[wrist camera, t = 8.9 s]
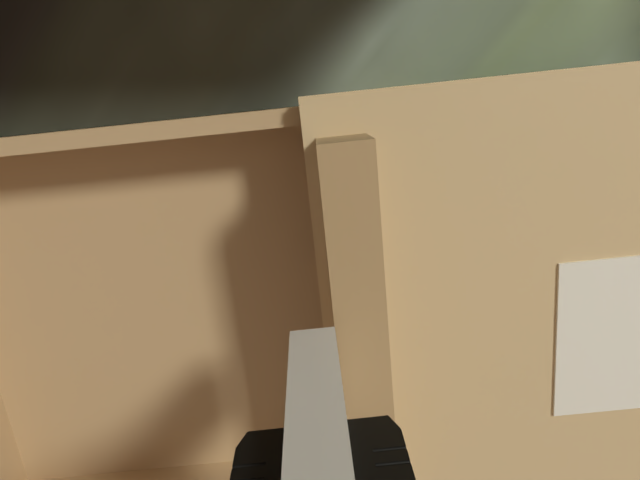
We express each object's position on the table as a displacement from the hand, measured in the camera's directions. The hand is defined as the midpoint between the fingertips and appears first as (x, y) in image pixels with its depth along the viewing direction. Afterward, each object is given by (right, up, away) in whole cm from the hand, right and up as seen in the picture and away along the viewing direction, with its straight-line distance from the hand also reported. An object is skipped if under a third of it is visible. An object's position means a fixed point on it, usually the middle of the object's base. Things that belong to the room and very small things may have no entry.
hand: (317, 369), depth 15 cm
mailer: (-5, +1, +7) cm, 9 cm away
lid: (+10, +2, +3) cm, 11 cm away
